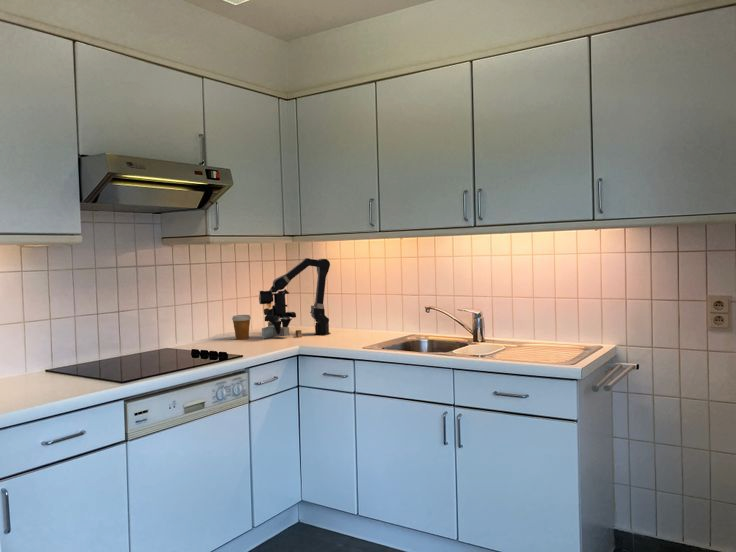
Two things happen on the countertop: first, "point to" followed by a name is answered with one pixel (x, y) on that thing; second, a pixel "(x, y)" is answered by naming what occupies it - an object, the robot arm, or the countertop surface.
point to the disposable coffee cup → (241, 326)
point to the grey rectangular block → (281, 331)
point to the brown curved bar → (298, 332)
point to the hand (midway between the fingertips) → (281, 333)
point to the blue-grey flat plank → (267, 331)
